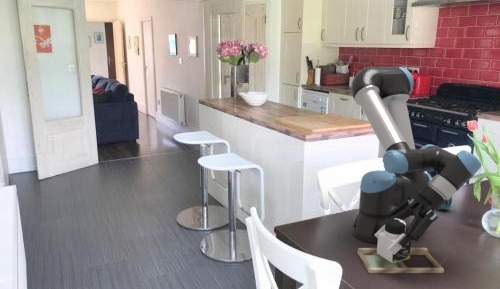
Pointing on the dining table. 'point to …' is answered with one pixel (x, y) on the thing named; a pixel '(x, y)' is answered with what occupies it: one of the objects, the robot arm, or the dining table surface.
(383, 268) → the wooden divided tray
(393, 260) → the medicine bottle
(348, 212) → the dining table surface
